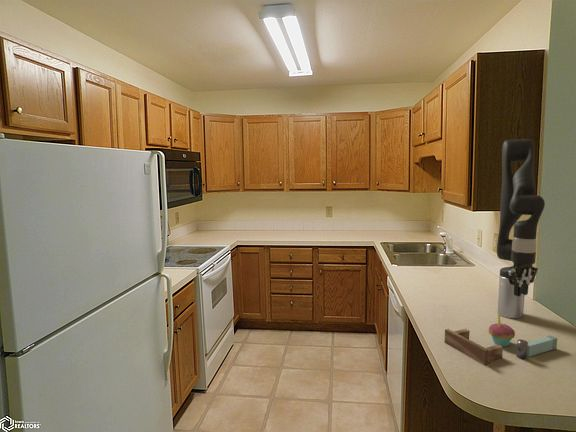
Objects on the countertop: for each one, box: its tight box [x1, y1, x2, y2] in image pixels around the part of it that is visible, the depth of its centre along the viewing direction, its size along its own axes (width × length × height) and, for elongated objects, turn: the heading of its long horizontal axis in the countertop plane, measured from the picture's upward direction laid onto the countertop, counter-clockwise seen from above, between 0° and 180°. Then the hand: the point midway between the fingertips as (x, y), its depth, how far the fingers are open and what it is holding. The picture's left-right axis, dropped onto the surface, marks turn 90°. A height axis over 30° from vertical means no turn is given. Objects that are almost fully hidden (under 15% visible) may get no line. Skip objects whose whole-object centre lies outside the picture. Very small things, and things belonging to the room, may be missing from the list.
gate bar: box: [527, 335, 558, 357], centre depth 130 cm, size 14×2×4 cm, turn 112°
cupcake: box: [488, 313, 516, 347], centre depth 136 cm, size 9×8×12 cm
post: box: [516, 339, 529, 360], centre depth 127 cm, size 3×3×6 cm
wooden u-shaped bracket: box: [444, 328, 504, 366], centre depth 132 cm, size 9×17×5 cm, turn 22°
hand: (520, 294), depth 138 cm, fingers open, 3 cm apart
